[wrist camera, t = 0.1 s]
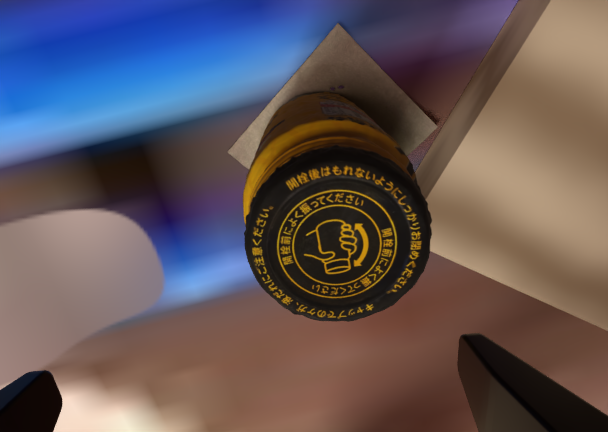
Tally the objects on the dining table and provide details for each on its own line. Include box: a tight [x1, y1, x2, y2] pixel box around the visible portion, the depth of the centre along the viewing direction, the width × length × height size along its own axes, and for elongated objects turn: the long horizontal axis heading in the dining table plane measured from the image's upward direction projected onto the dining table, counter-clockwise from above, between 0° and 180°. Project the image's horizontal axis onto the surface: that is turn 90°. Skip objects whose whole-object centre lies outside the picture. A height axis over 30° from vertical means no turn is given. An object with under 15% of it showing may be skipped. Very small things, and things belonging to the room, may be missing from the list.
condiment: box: [228, 24, 437, 321], centre depth 16 cm, size 7×8×12 cm
